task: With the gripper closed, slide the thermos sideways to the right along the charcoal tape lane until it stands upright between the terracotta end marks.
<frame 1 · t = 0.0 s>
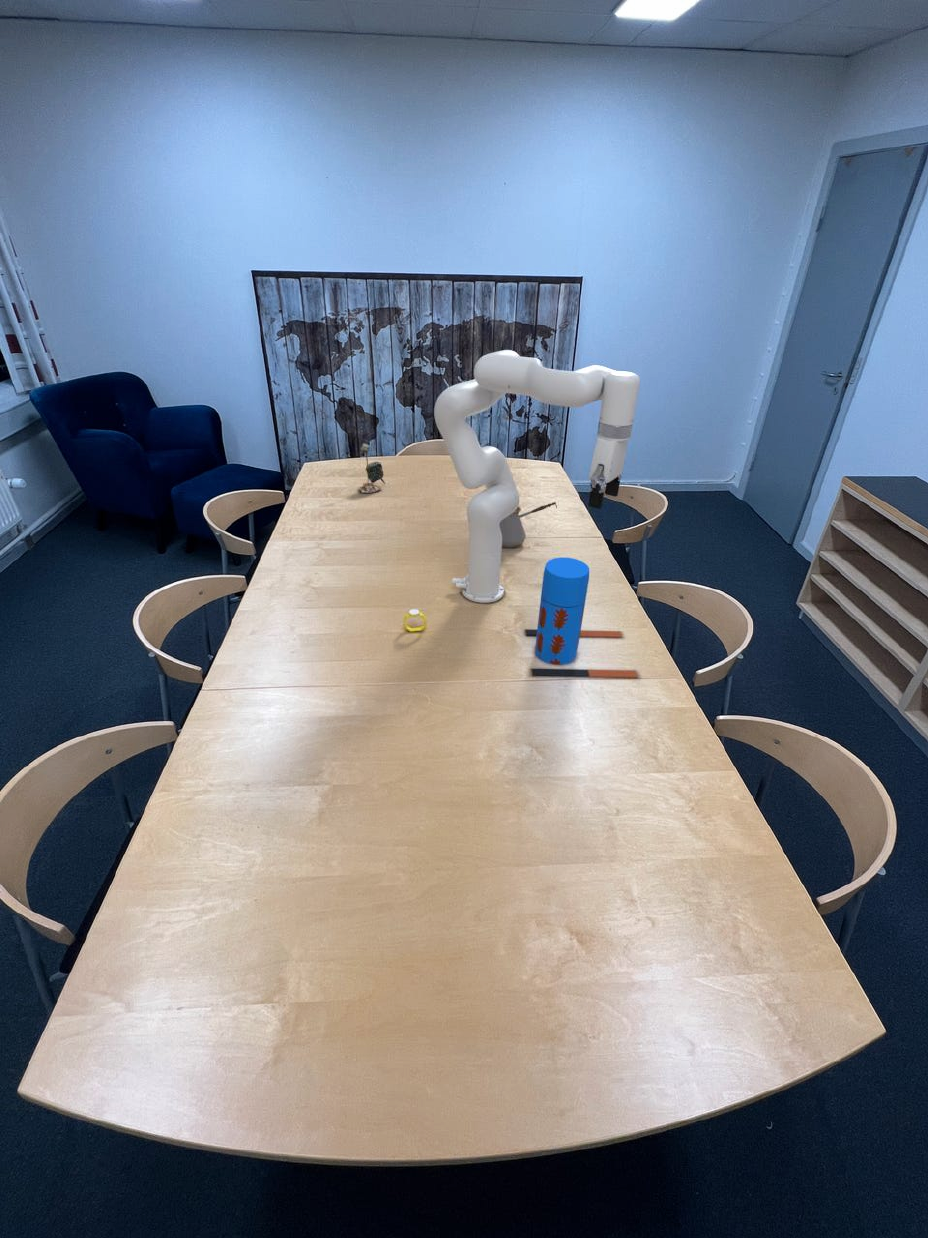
hand: (603, 501, 149), 37 cm above the table, tool pointing down, fingers open, 9 cm apart
thermos: (555, 653, 159), on the table
gold ring: (415, 630, 166), on the table
lane: (578, 653, 159), on the table
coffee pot: (522, 543, 214), on the table
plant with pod: (371, 490, 251), on the table
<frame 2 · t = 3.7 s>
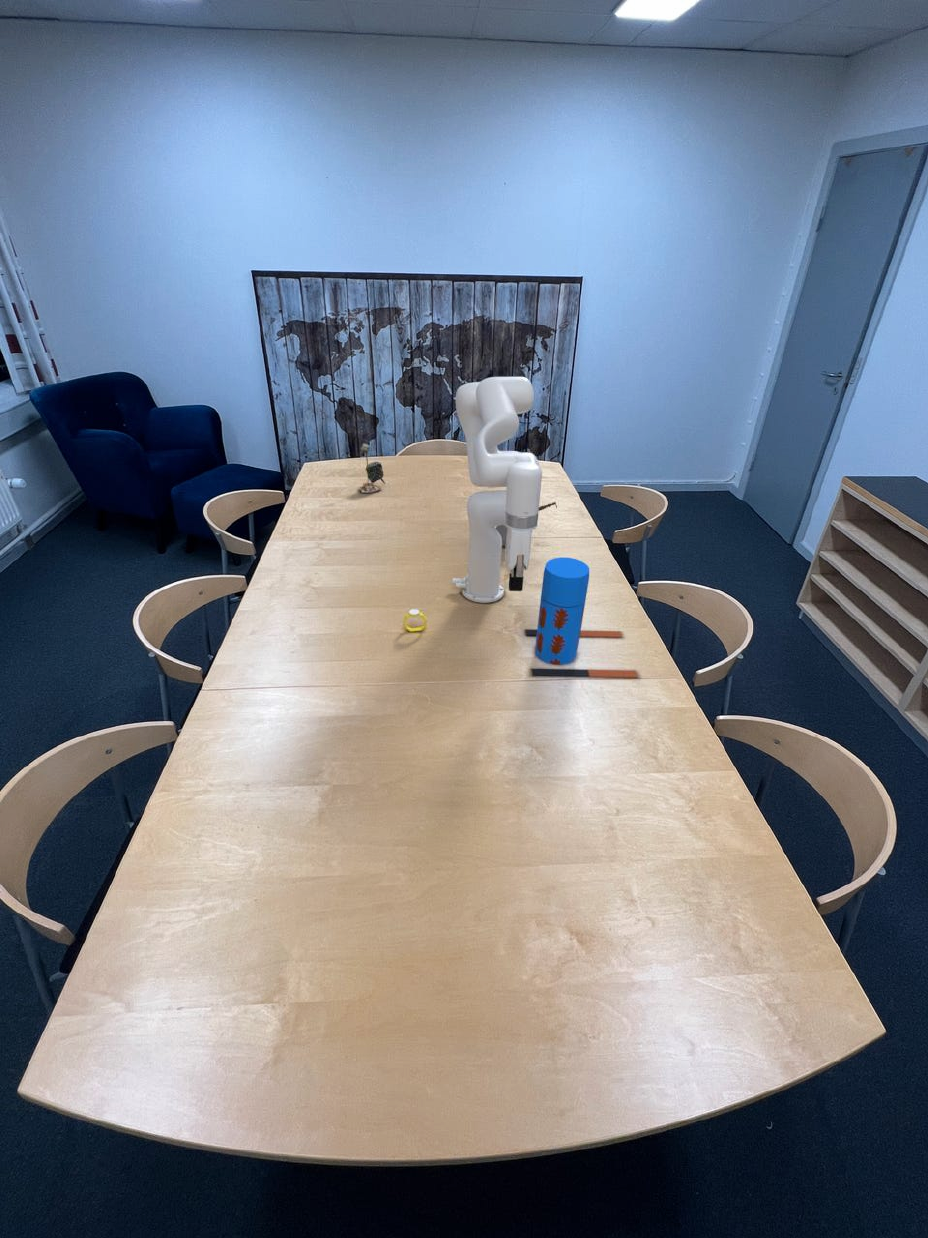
hand: (515, 589, 148), 19 cm above the table, tool pointing down, fingers closed
nothing on the table moved.
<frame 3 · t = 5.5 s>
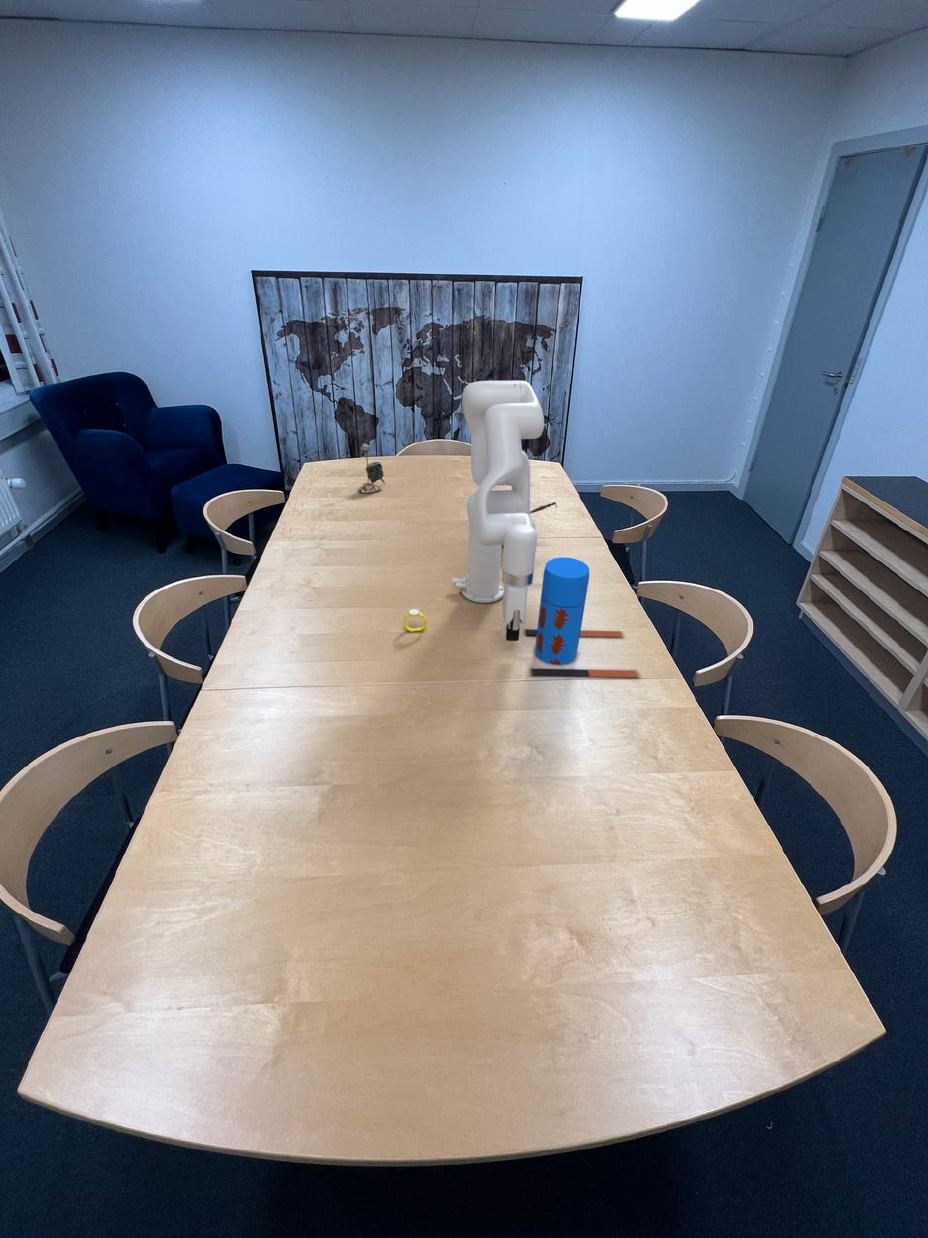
hand: (512, 639, 156), 4 cm above the table, tool pointing down, fingers closed
nothing on the table moved.
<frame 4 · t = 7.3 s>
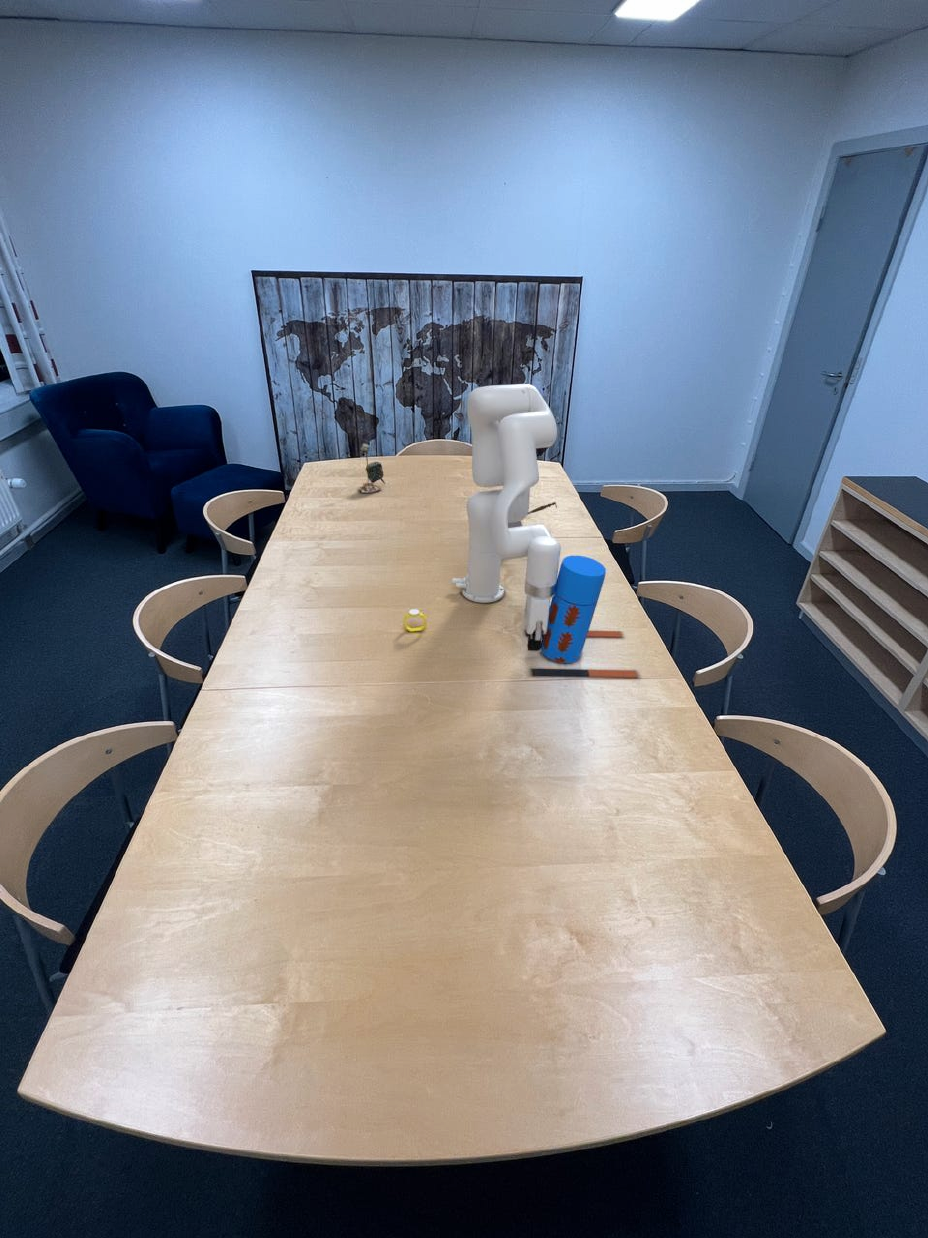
hand: (533, 648, 158), 1 cm above the table, tool pointing down, fingers closed
thermos: (559, 651, 159), on the table, touching arm, gripper
everything else where it was.
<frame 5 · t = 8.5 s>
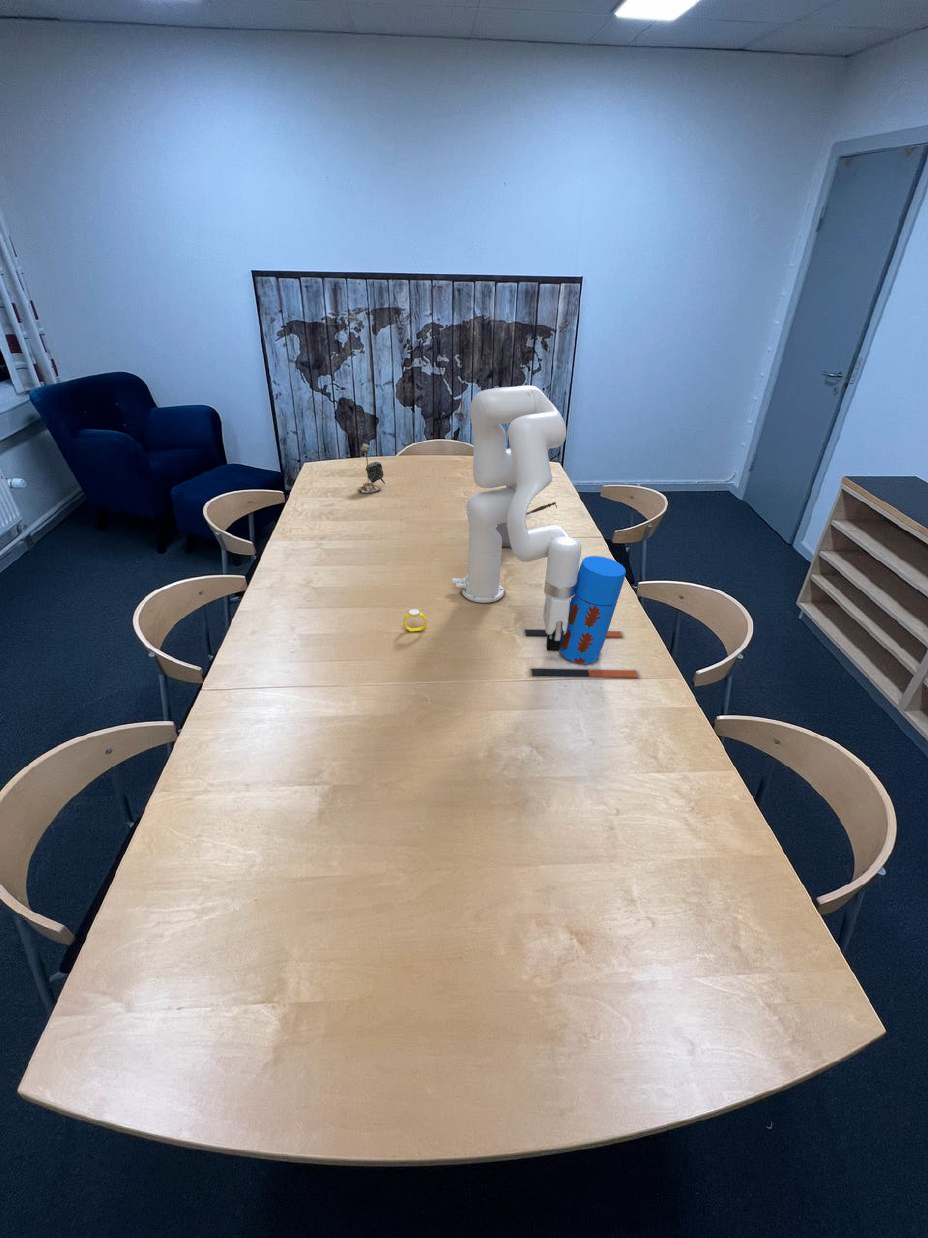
hand: (552, 649, 158), 1 cm above the table, tool pointing down, fingers closed
thermos: (578, 652, 159), on the table, touching arm, gripper
everything else where it was.
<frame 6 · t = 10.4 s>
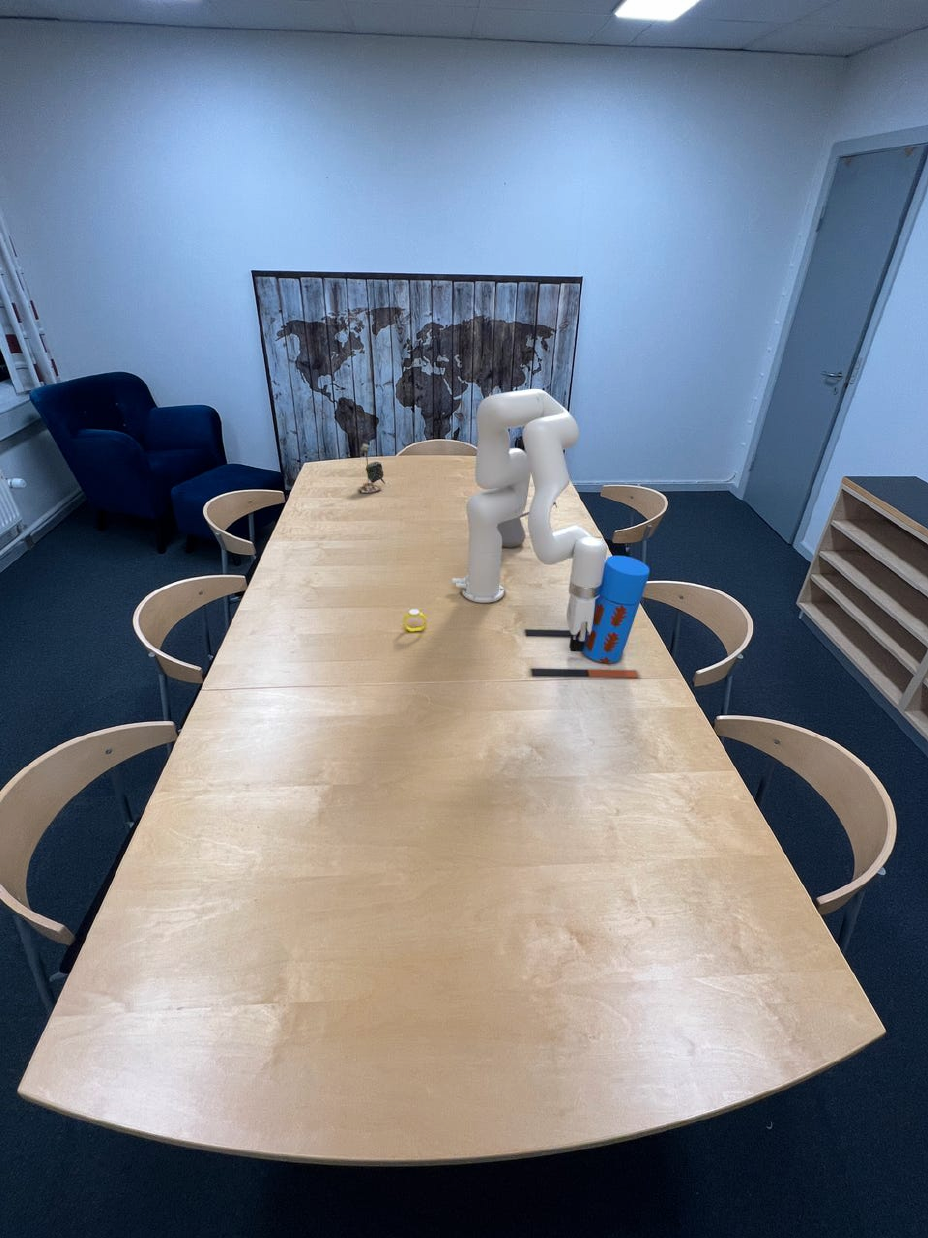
hand: (575, 649, 158), 2 cm above the table, tool pointing down, fingers closed
thermos: (601, 651, 159), on the table, touching arm, gripper
everything else where it was.
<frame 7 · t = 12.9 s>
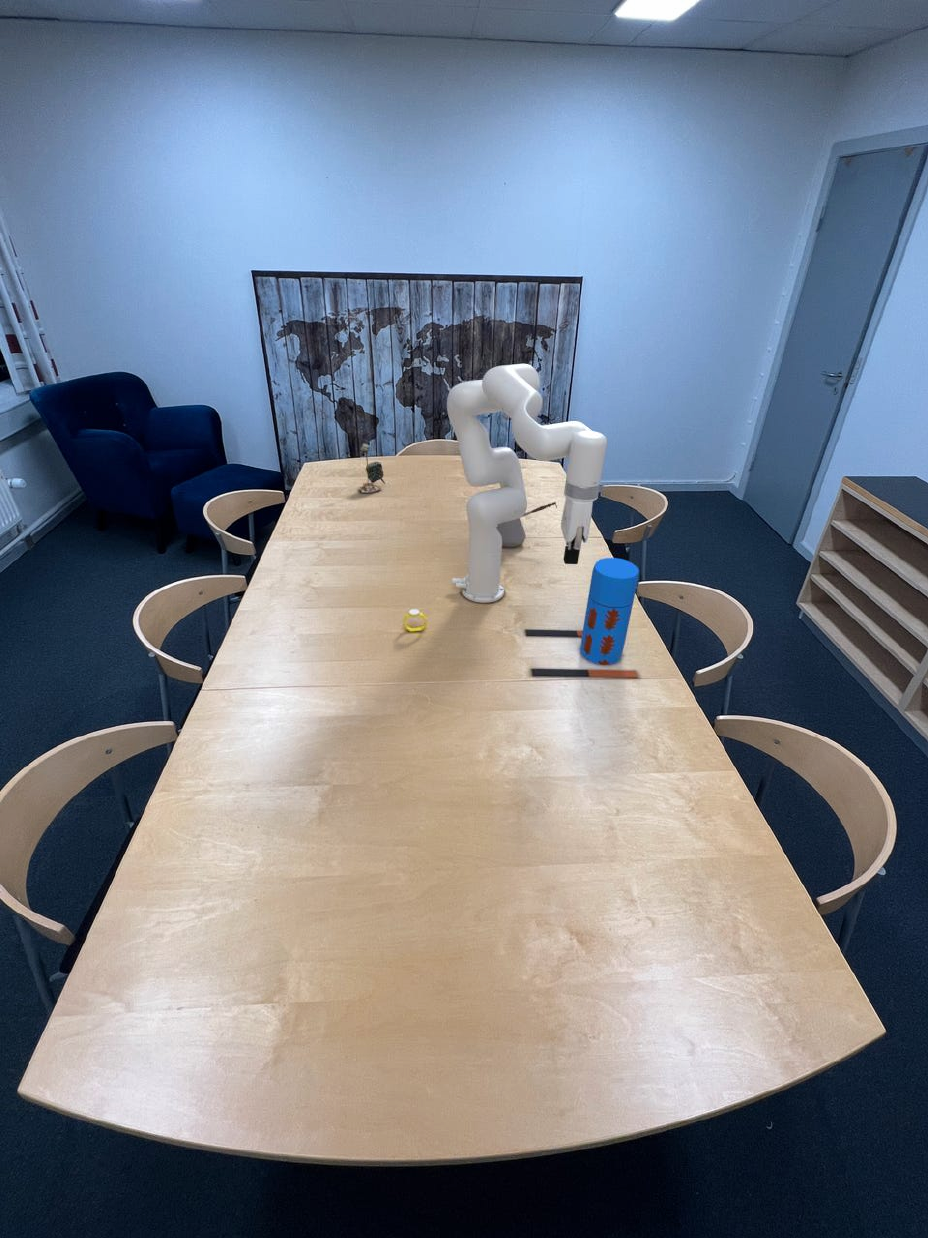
hand: (570, 562, 146), 26 cm above the table, tool pointing down, fingers closed
thermos: (600, 653, 160), on the table
everything else where it was.
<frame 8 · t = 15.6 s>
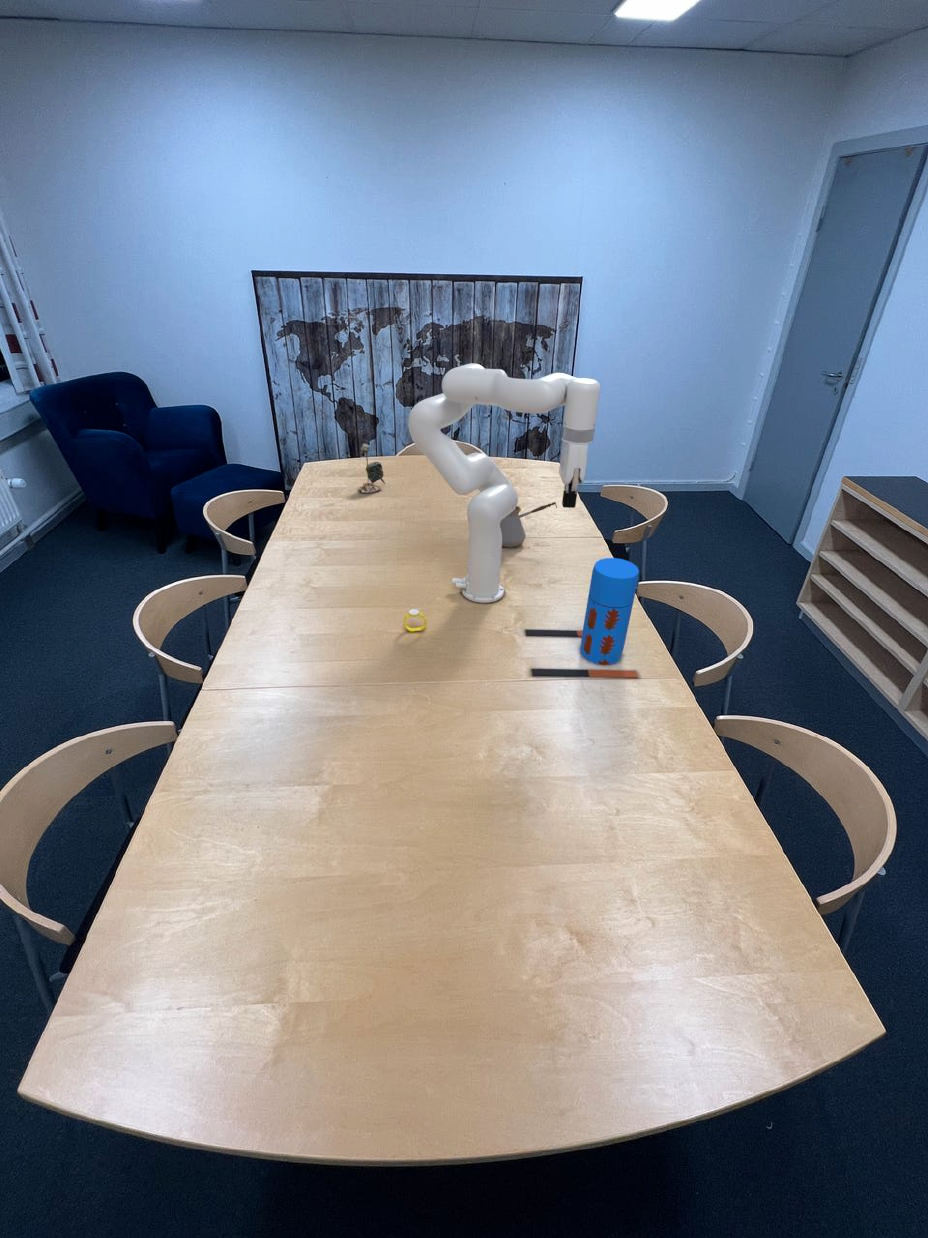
hand: (568, 506, 156), 33 cm above the table, tool pointing down, fingers closed
nothing on the table moved.
at the end: thermos inside the target area (1.2 cm from its centre), on the table; thermos tilted 0°; thermos moved 11.8 cm from its start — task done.
